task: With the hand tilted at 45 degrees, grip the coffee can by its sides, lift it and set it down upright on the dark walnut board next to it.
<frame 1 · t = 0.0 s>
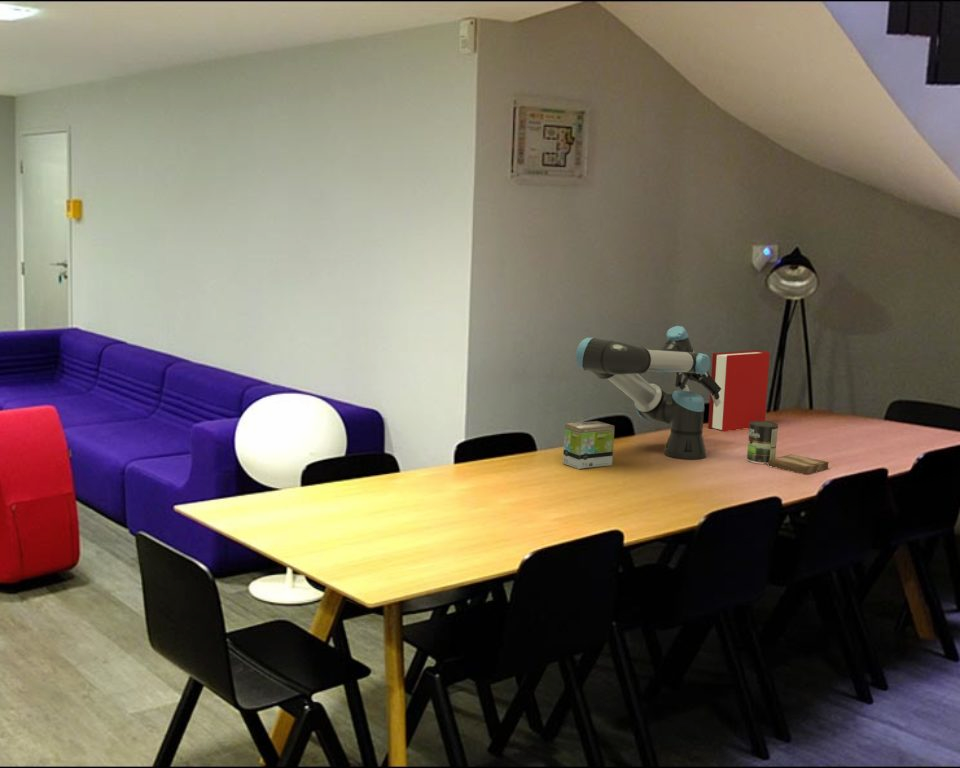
hand: (703, 401, 430), 15 cm above the table, tool tilted 35°, fingers open, 13 cm apart
coffee can: (761, 461, 397), on the table
book: (737, 427, 461), on the table
walnut board: (798, 467, 388), on the table
tea box: (587, 465, 383), on the table
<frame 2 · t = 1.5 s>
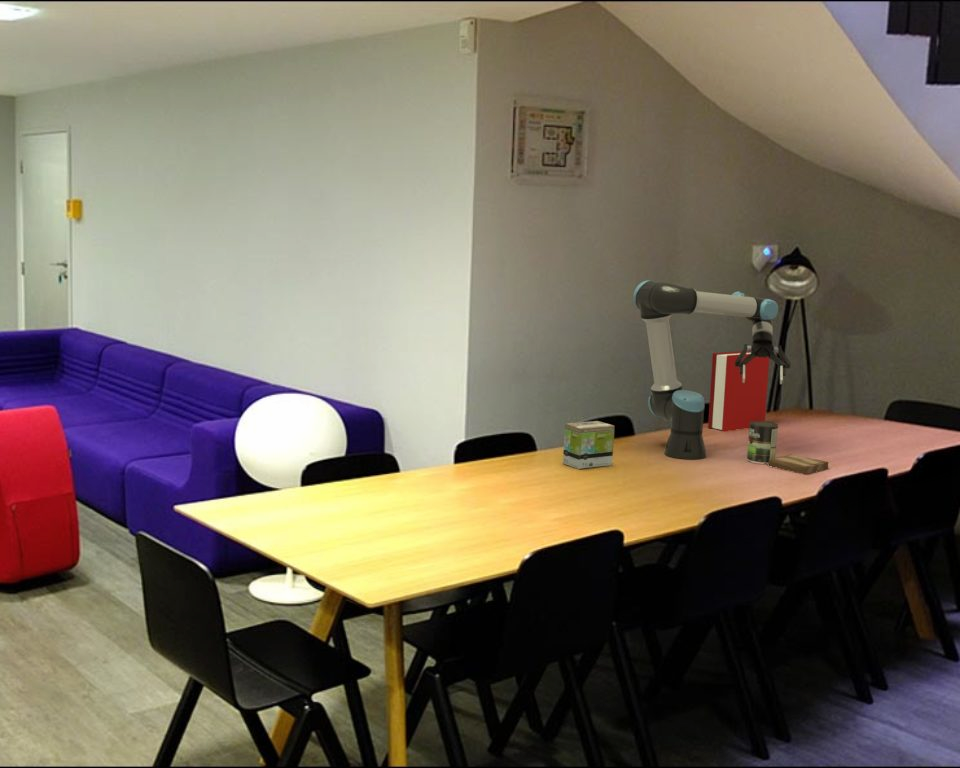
hand: (762, 381, 404), 28 cm above the table, tool tilted 45°, fingers open, 13 cm apart
nothing on the table moved.
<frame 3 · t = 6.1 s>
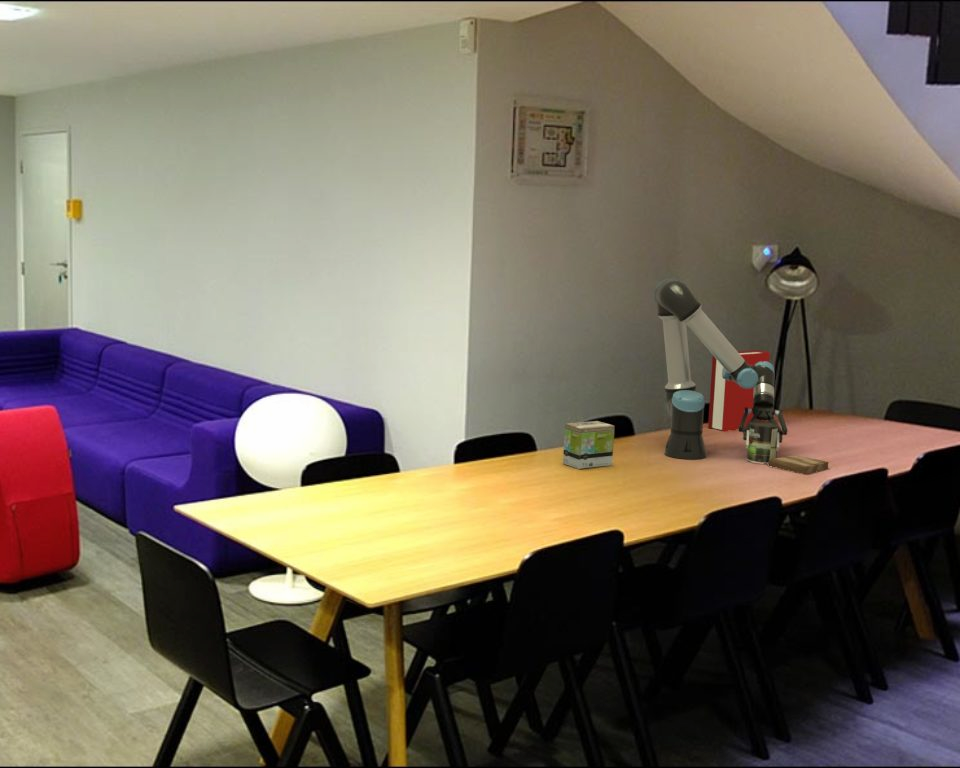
hand: (762, 448, 393), 5 cm above the table, tool tilted 45°, fingers closed on coffee can, 10 cm apart
coffee can: (761, 461, 397), on the table, touching gripper
everything else where it was.
when the fingers open (9 cm above the table, at t = 11.3 s): coffee can drops 1 cm, resting on walnut board.
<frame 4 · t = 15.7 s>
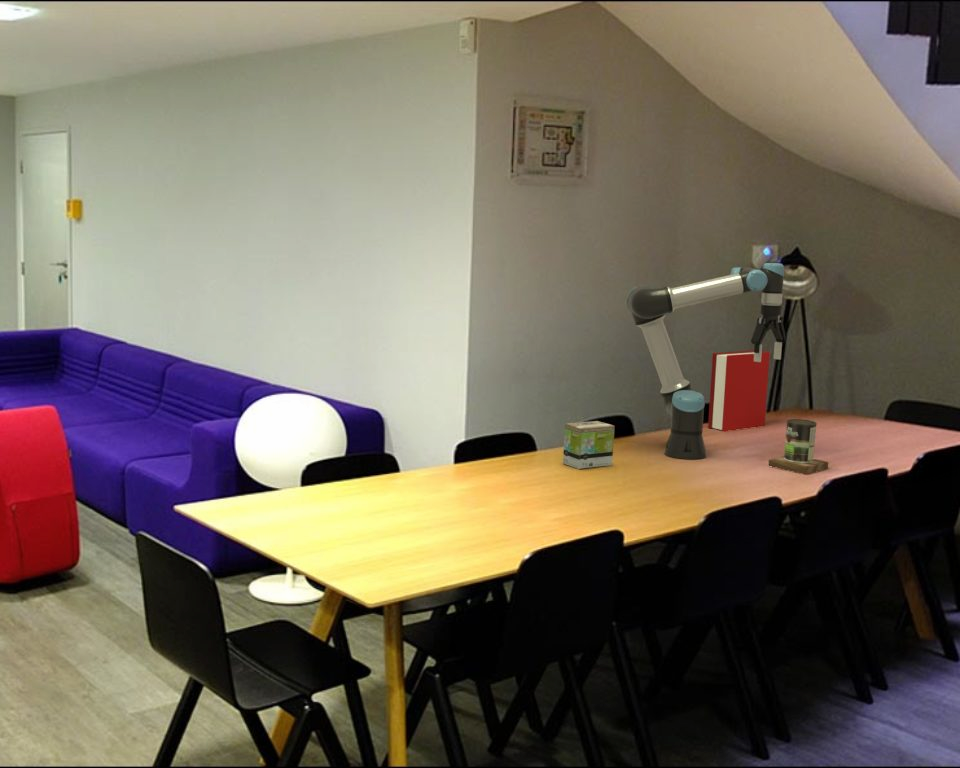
hand: (767, 360, 411), 35 cm above the table, tool pointing down, fingers open, 13 cm apart
coffee can: (798, 460, 388), point 2 cm above the table, touching walnut board
everything else where it was.
at the end: coffee can 0.1 cm from the walnut board (horizontally); coffee can tilted 0°; coffee can touching walnut board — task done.
